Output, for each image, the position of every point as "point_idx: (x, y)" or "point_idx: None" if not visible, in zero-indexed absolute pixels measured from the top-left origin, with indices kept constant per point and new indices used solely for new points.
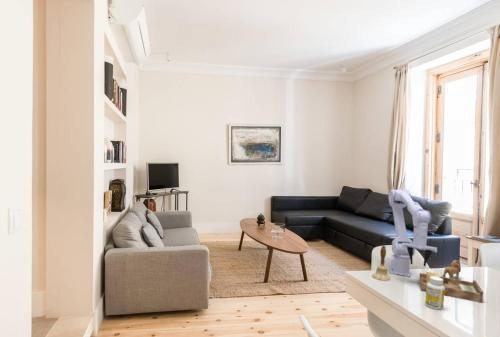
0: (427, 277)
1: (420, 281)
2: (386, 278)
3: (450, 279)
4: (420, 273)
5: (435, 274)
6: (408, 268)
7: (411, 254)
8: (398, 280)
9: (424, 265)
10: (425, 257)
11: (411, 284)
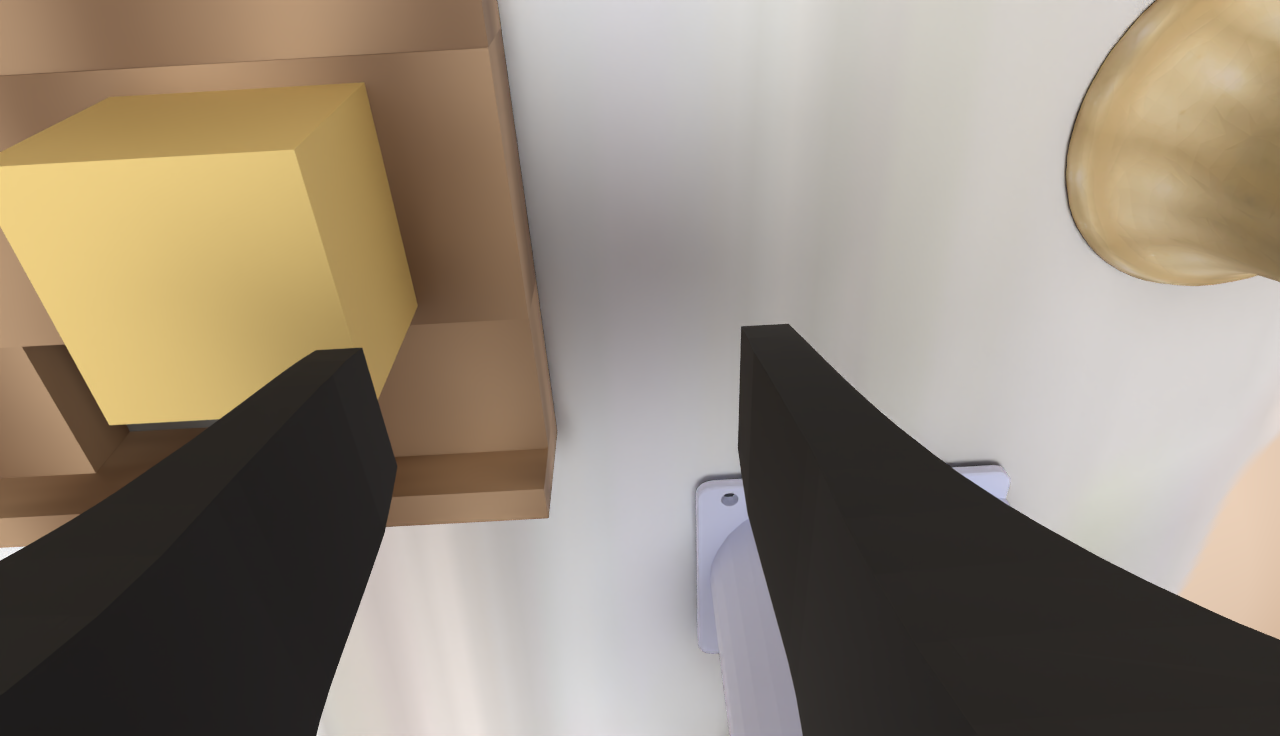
0: (309, 130)
1: (502, 151)
2: (1212, 9)
3: (29, 510)
4: (533, 495)
5: (151, 350)
6: (740, 615)
7: (940, 558)
8: (911, 176)
9: (330, 356)
10: (126, 568)
11: (674, 90)
